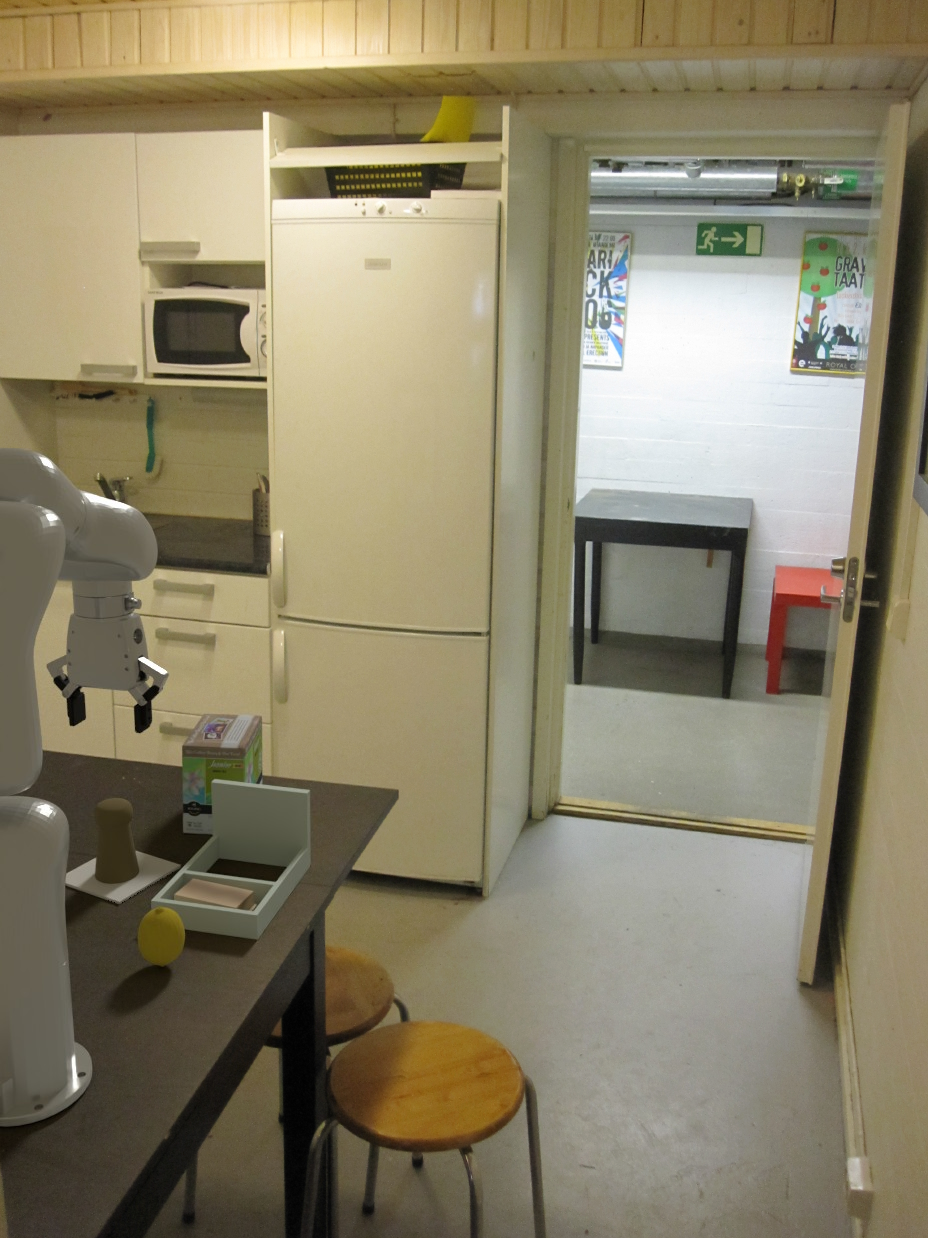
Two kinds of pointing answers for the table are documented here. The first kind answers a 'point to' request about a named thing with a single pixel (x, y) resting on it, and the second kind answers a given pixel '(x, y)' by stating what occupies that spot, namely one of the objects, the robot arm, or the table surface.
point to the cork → (115, 842)
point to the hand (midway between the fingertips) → (110, 726)
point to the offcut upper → (215, 895)
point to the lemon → (161, 936)
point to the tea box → (218, 763)
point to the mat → (118, 893)
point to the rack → (246, 855)
